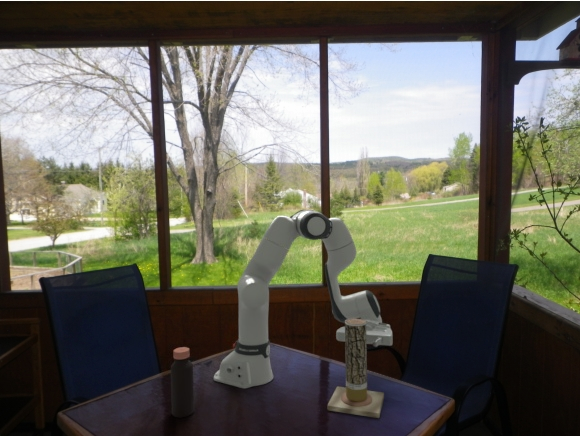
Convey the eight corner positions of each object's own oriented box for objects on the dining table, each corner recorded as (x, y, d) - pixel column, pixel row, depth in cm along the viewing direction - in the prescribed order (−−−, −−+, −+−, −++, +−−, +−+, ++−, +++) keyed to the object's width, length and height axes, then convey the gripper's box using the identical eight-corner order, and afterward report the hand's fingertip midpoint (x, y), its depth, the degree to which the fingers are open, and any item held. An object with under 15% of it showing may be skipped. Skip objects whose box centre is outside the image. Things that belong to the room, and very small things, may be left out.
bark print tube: (367, 403, 126) (366, 324, 125) (345, 402, 127) (344, 324, 126) (367, 393, 132) (366, 318, 132) (346, 392, 133) (345, 318, 133)
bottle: (182, 420, 121) (180, 355, 120) (167, 414, 125) (165, 351, 124) (198, 410, 127) (197, 348, 126) (183, 405, 130) (182, 344, 130)
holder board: (327, 410, 126) (327, 404, 125) (337, 390, 139) (337, 385, 139) (379, 418, 120) (378, 412, 120) (384, 397, 133) (384, 391, 133)
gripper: (340, 320, 155) (331, 331, 142) (394, 324, 148) (390, 336, 135) (340, 336, 155) (332, 349, 142) (394, 341, 148) (391, 355, 135)
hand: (361, 343), depth 138 cm, fingers open, 8 cm apart
